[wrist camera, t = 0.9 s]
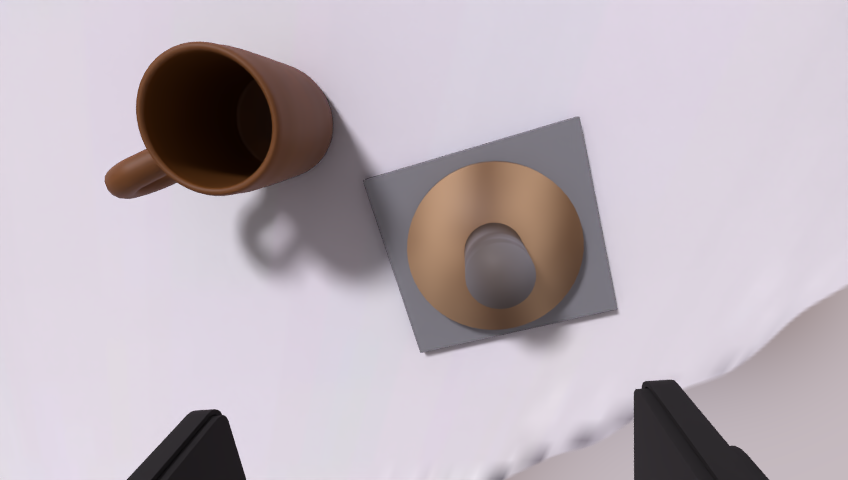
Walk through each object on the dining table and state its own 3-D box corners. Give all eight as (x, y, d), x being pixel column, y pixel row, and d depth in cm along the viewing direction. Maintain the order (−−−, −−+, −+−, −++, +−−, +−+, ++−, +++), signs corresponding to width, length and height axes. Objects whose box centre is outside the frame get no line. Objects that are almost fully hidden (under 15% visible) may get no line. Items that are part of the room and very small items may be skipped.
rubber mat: (576, 116, 28) (579, 116, 27) (613, 304, 31) (617, 309, 30) (365, 179, 30) (363, 180, 29) (421, 347, 33) (420, 352, 32)
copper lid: (559, 138, 27) (586, 143, 21) (593, 301, 30) (626, 345, 24) (387, 188, 29) (369, 205, 23) (435, 337, 32) (429, 386, 26)
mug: (222, 219, 32) (128, 258, 23) (164, 128, 30) (37, 131, 21) (356, 145, 29) (310, 156, 20) (300, 42, 28) (223, 4, 19)
